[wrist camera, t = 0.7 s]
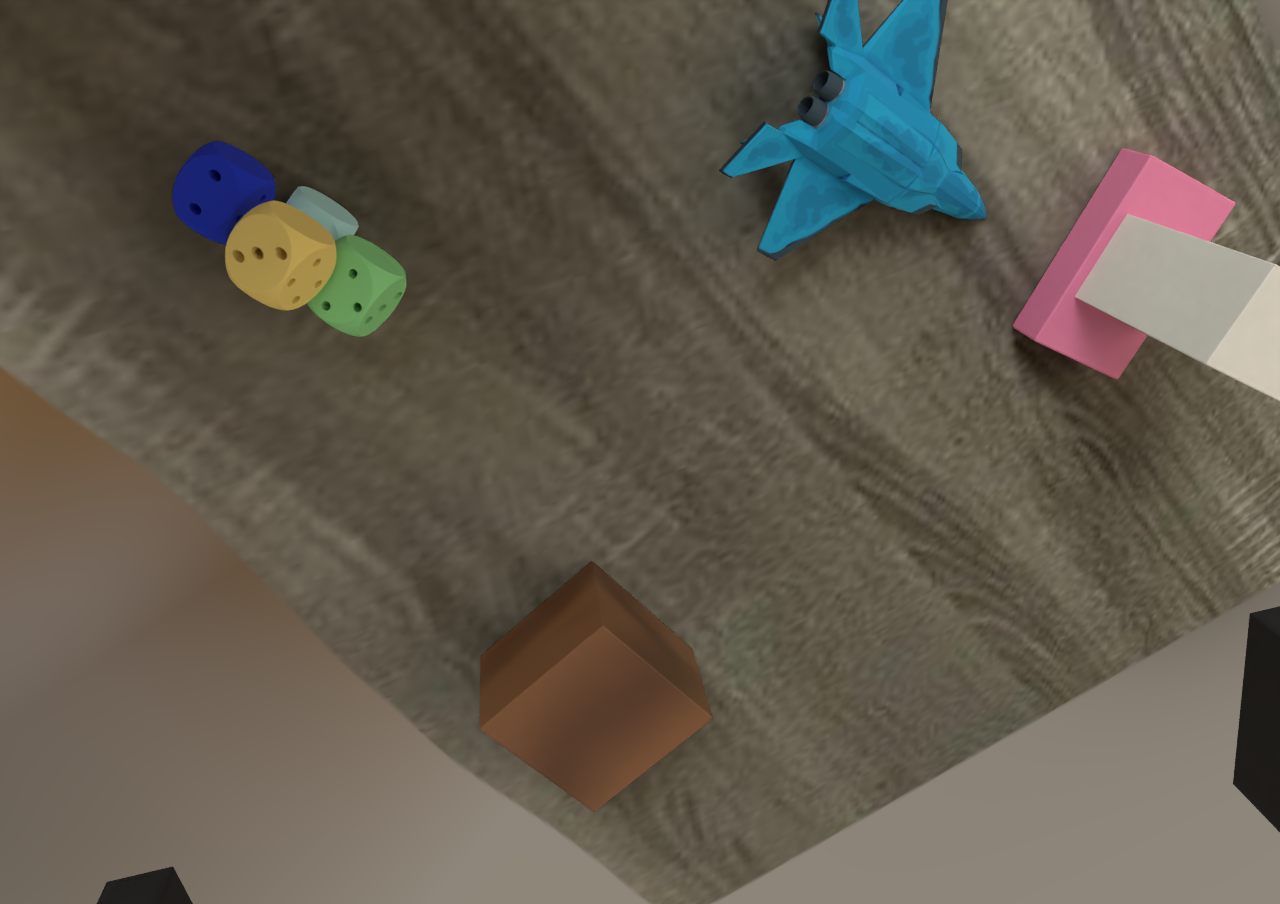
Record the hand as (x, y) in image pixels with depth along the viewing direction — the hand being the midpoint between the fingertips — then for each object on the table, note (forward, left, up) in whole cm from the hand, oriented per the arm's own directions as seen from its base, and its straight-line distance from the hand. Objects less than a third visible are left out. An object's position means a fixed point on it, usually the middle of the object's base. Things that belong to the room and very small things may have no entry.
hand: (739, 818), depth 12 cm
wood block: (+18, -5, -29) cm, 34 cm away
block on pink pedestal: (+7, +21, -29) cm, 36 cm away
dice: (-4, -9, -29) cm, 30 cm away
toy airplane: (-1, +11, -29) cm, 31 cm away
